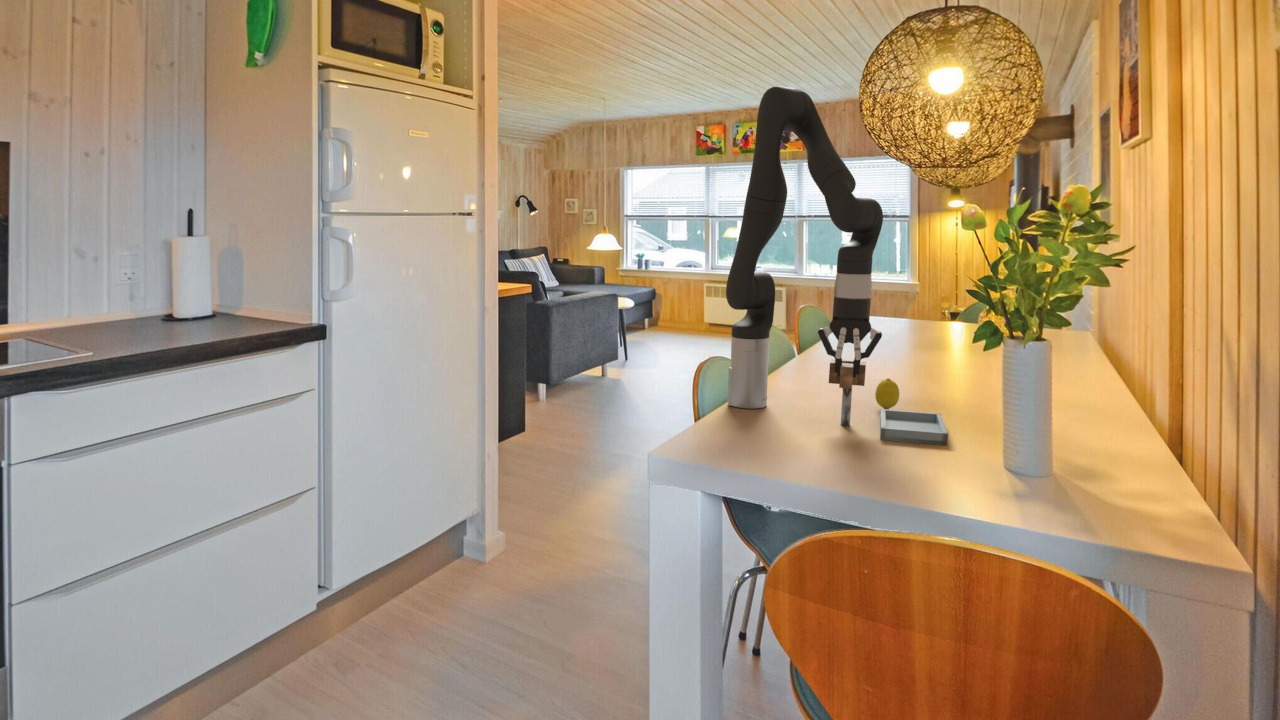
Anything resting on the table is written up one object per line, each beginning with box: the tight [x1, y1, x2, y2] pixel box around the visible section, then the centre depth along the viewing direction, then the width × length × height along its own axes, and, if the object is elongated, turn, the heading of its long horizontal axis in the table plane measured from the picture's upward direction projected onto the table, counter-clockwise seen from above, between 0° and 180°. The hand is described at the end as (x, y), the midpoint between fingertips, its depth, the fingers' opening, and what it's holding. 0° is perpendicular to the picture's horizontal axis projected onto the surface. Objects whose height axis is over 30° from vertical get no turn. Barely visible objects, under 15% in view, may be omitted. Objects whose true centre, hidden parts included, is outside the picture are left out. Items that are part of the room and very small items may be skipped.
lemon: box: [875, 377, 900, 410], centre depth 180 cm, size 6×6×8 cm
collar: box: [828, 359, 867, 390], centre depth 161 cm, size 8×14×4 cm, turn 163°
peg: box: [840, 388, 853, 427], centre depth 166 cm, size 2×2×9 cm
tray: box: [879, 408, 949, 446], centre depth 161 cm, size 13×18×2 cm
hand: (846, 375), depth 158 cm, fingers closed on collar, 2 cm apart
